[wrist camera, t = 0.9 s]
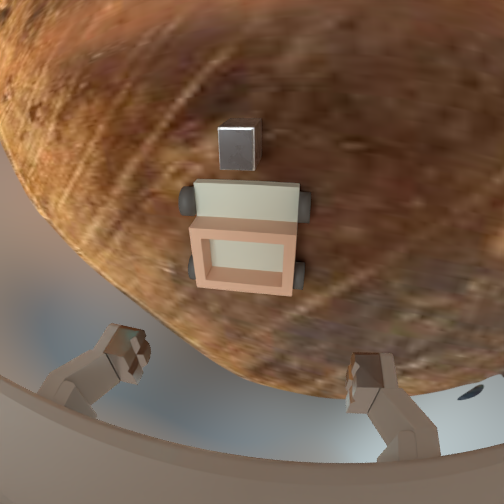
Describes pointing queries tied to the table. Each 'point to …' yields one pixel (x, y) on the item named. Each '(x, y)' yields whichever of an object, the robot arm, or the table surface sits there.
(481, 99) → the table surface
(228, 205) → the chassis
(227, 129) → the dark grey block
